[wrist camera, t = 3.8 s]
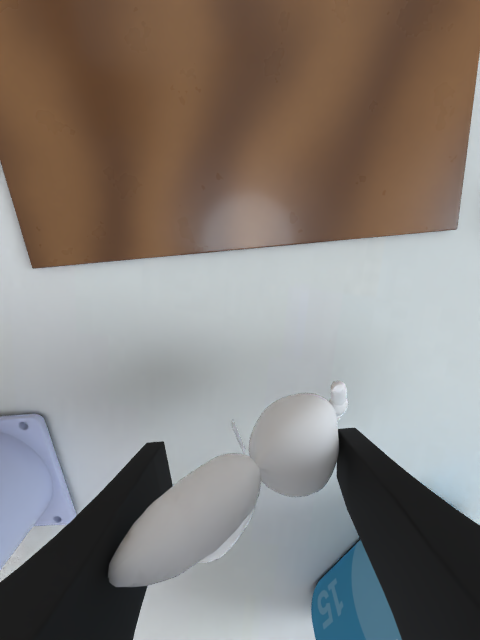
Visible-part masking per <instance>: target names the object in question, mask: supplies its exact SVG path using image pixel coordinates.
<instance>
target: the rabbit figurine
mask: <svg viewBox="0 0 480 640" xmlns="http://www.w3.org/2000/svg"><path fill="white" fill-rule="evenodd" d="M346 397H347V388H346V385H345V384H344V383H343V382H341V381H334V382H333V383H332V385H331V399H330V400H329V401H328V400H326V399H325V398H323V397H321V396H319V395H316V394H311V393H301V394H295V395H290V396H287V397H284V398H281V399H279V400H277V401H275V402H273V403H272V404H271V405H270V406H268V407H267V408H266V409H265V410H264V412H263V413H262V414H261V416H260V417H259V419H258V420H257V423H256V424H255V426H254V428H253V431H252V434H251V437H250V442H249V455H250V456H246V455H242V454H237V453H232V454H224V455H221V456H217V457H215V458H213V459H212V460H210V461H209V462H207V463H205V464H204V465H202V466H200V467H199V468H197V469H196V470H194V471H193V472H191V473H190V474H188V475H187V476H186V477H184V478H183V479H181V480H180V481H179V482H177V483H176V484H175V485H174V486H172V487H171V488H170V489H169V490H168V491H166V492H165V493H164V494H163V495H162V496H160V497H159V498H158V499H157V500H155V501H154V502H153V503H152V504H151V505H150V506H149V507H148V508H147V509H146V510H145V511H144V513H143V514H142V515H141V516H140V517H139V518H138V519H137V520H136V521H135V522H134V524H133V525H132V527H131V528H130V530H129V531H128V533H127V534H126V536H125V537H124V539H123V540H122V542H121V543H120V545H119V547H118V548H117V550H116V552H115V554H114V556H113V557H112V559H111V561H110V563H109V569H108V578H109V582H110V583H111V584H112V585H114V586H115V587H139V586H148V585H152V584H155V583H158V582H161V581H165V580H168V579H171V578H173V577H176V576H178V575H180V574H181V573H183V572H185V571H186V570H188V569H189V568H190V567H192V566H193V565H195V564H196V563H198V562H203V563H208V562H210V561H213V560H217V559H219V558H220V557H222V556H223V555H224V554H225V553H227V551H228V550H229V549H230V548H231V547H232V546H233V545H234V544H235V542H236V541H237V539H238V538H239V537H240V536H241V534H242V533H243V531H244V530H245V528H246V526H247V525H248V524H249V522H250V520H251V518H252V514H253V512H254V510H255V506H256V502H257V498H258V496H259V491H260V484H261V481H262V482H263V483H264V484H265V485H266V486H267V487H268V488H270V489H272V490H274V491H275V492H277V493H279V494H282V495H286V496H291V497H303V496H308V495H310V494H313V493H315V492H318V491H319V490H321V489H322V488H323V487H324V486H325V485H326V483H327V482H328V480H329V478H330V477H331V475H332V473H333V470H334V468H335V465H336V462H337V459H338V453H339V438H338V426H337V422H338V421H339V420H340V419H341V416H342V414H344V413H345V412H346V410H347V407H348V399H347V398H346ZM231 426H232V428H233V430H234V433H235V435H236V437H237V440H238V442H239V444H240V447H241V449H242V451H243V454H245V449H246V448H245V446H244V444H243V441H242V439H241V437H240V434H239V432H238V430H237V427H236V425H235V423H234V420H232V423H231Z"/></svg>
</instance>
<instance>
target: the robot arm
mask: <svg viewBox="0 0 480 640" xmlns="http://www.w3.org/2000/svg"><path fill="white" fill-rule="evenodd" d="M25 423H26V424H25ZM338 438H339V453H338V459H337V479H338V482H339V485H340V489H341V492H342V495H343V498H344V501H345V504H346V507H347V510H348V512H349V514H350V517H351V519H352V521H353V524H354V526H355V528H356V531H357V533H358V535H359V537H360V540H361V542H362V544H363V546H364V549H365V551H366V553H367V556H368V558H369V560H370V562H371V565H372V567H373V569H374V571H375V574H376V576H377V578H378V580H379V583H380V585H381V587H382V590H383V592H384V594H385V597H386V599H387V602H388V604H389V606H390V609H391V611H392V614H393V616H394V619H395V622H396V625H397V627H398V630H399V633H400V636H401V639H402V640H480V525H478V524H477V523H475V522H474V521H472V520H471V519H469V518H468V517H466V516H465V515H463V514H462V513H461V512H459V511H458V510H456V509H455V508H454V507H452V506H451V505H449V504H448V503H447V502H445V501H444V500H443V499H441V498H440V497H439V496H437V495H436V494H435V493H433V492H432V491H431V490H429V489H428V488H427V487H425V486H424V485H423V484H421V483H420V482H419V481H418V480H416V479H415V478H414V477H413V476H411V475H410V474H409V473H408V472H406V471H405V470H404V469H403V468H401V467H400V466H399V465H398V464H397V463H395V462H394V461H393V460H392V459H391V458H389V457H388V456H387V455H386V454H385V453H384V452H382V451H381V450H380V449H379V448H378V447H377V446H375V445H374V444H373V443H372V442H371V441H370V440H369V439H367V438H366V437H365V436H364V435H363V434H362V433H361V432H359V431H358V430H357V429H356V428H345V429H338ZM172 486H173V485H172V480H171V475H170V470H169V465H168V460H167V455H166V450H165V445H164V442H151V443H146V444H145V445H144V446H143V447H142V448H141V450H140V451H139V452H138V453H137V454H136V455H135V456H134V457H133V458H132V459H131V460H130V461H129V462H128V464H127V465H126V466H125V467H124V468H123V469H122V470H121V471H120V472H119V473H118V474H117V475H116V477H115V478H114V479H113V480H112V481H111V482H110V483H109V484H108V485H107V486H106V487H105V488H104V489H103V490H102V491H101V492H100V493H99V494H98V495H97V496H96V497H95V498H94V499H93V500H92V501H91V502H90V503H89V504H88V505H87V506H86V507H85V508H84V509H83V510H82V511H81V512H80V513H79V514H78V515H77V516H76V511H75V508H74V506H73V503H72V500H71V497H70V494H69V491H68V488H67V485H66V482H65V479H64V476H63V473H62V470H61V467H60V464H59V461H58V458H57V455H56V452H55V449H54V446H53V443H52V440H51V437H50V434H49V432H48V429H47V426H46V423H45V420H44V418H43V417H42V416H41V415H38V414H24V415H10V416H0V570H1V569H2V567H3V566H4V565H5V563H6V562H7V561H8V559H9V558H10V557H11V555H12V554H13V552H14V551H15V550H16V548H17V547H18V546H19V544H20V543H21V542H22V540H23V539H24V538H25V536H26V535H27V534H28V532H29V531H30V529H31V528H32V527H33V526H45V525H62V524H68V525H67V526H66V527H65V528H63V529H62V530H61V531H60V532H59V533H58V534H57V535H56V536H55V537H54V538H53V539H51V540H50V541H49V542H48V543H47V544H46V545H45V546H43V547H42V548H41V549H40V550H39V551H38V552H37V553H35V554H34V555H33V556H32V557H31V558H30V559H28V560H27V561H26V562H25V563H24V564H23V565H21V566H20V567H19V568H18V569H17V570H15V571H14V572H13V573H12V574H10V575H9V576H8V577H7V578H5V579H4V580H3V581H1V582H0V640H133V637H134V632H135V628H136V624H137V621H138V617H139V613H140V609H141V606H142V602H143V599H144V596H145V592H146V589H147V586H139V587H115V586H114V585H112V584H111V583H110V582H109V578H108V569H109V563H110V561H111V559H112V557H113V556H114V554H115V552H116V550H117V548H118V547H119V545H120V543H121V542H122V540H123V539H124V537H125V536H126V534H127V533H128V531H129V530H130V528H131V527H132V525H133V524H134V522H135V521H136V520H137V519H138V518H139V517H140V516H141V515H142V514H143V513H144V511H145V510H146V509H147V508H148V507H149V506H150V505H151V504H152V503H153V502H154V501H155V500H157V499H158V498H159V497H160V496H162V495H163V494H164V493H165V492H166V491H168V490H169V489H170V488H171V487H172Z"/></svg>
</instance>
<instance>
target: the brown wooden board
mask: <svg viewBox="0 0 480 640" xmlns="http://www.w3.org/2000/svg"><path fill="white" fill-rule="evenodd" d="M479 53H480V0H0V161H1V164H2V168H3V171H4V175H5V178H6V181H7V185H8V188H9V191H10V195H11V198H12V201H13V205H14V208H15V211H16V215H17V218H18V221H19V225H20V228H21V232H22V235H23V238H24V242H25V245H26V248H27V252H28V255H29V258H30V262H31V265H32V268H44V267H55V266H65V265H76V264H87V263H98V262H109V261H120V260H131V259H141V258H152V257H163V256H174V255H185V254H196V253H207V252H217V251H228V250H239V249H250V248H261V247H272V246H283V245H293V244H304V243H315V242H326V241H337V240H348V239H359V238H369V237H380V236H391V235H402V234H413V233H424V232H435V231H445V230H456V229H457V226H458V218H459V211H460V203H461V195H462V187H463V179H464V171H465V163H466V155H467V147H468V140H469V132H470V124H471V116H472V108H473V100H474V92H475V84H476V77H477V69H478V61H479Z"/></svg>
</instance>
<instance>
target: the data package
mask: <svg viewBox="0 0 480 640" xmlns="http://www.w3.org/2000/svg"><path fill="white" fill-rule="evenodd" d="M311 612H312V622H313V628H314V633H315V638H316V640H402V639H401V636H400V633H399V630H398V627H397V625H396V622H395V619H394V616H393V614H392V611H391V609H390V606H389V604H388V602H387V599H386V597H385V594H384V592H383V590H382V587H381V585H380V583H379V580H378V578H377V576H376V574H375V571H374V569H373V567H372V565H371V562H370V560H369V558H368V556H367V553H366V551H365V549H364V546H363V544H362V542H361V540H360V541H359V542H358V543H357V544H356V545H355V546H354V547H353V548H352V549H351V550H350V551H349V552H348V553H347V554H345V555H344V556H343V557H342V558H341V559H340V560H339V561H338V562H337V563H336V564H335V565H334V566H333V567H332V568H331V569H330V570H329V571H328V572H327V573H326V574H325V575H324V576H323V577H322V578H321V579H320V581H319V582H318V583H317V585H316V587H315V590H314V593H313V597H312V607H311Z"/></svg>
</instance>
